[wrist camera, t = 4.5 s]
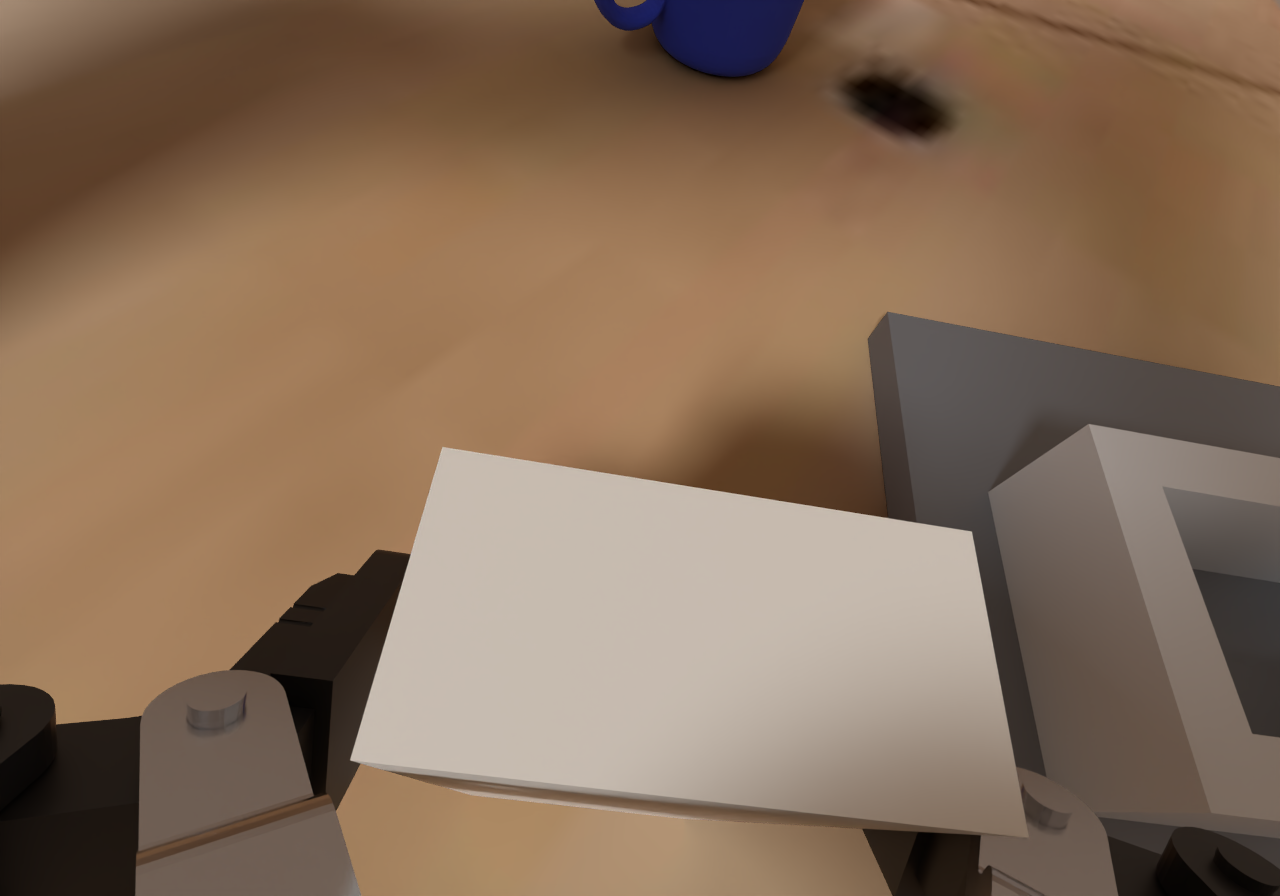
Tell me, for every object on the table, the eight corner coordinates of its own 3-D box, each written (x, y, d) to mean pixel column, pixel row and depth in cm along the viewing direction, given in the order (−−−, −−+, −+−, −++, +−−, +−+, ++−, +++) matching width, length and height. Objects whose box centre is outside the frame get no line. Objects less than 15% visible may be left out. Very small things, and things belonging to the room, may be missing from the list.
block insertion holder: (868, 338, 24) (953, 222, 19) (1248, 409, 25) (1415, 317, 20) (963, 1184, 13) (1226, 1408, 8) (1635, 1224, 14) (2195, 1435, 9)
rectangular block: (494, 682, 16) (442, 446, 6) (688, 706, 16) (972, 531, 6) (471, 795, 15) (349, 761, 4) (682, 818, 15) (1028, 837, 5)
